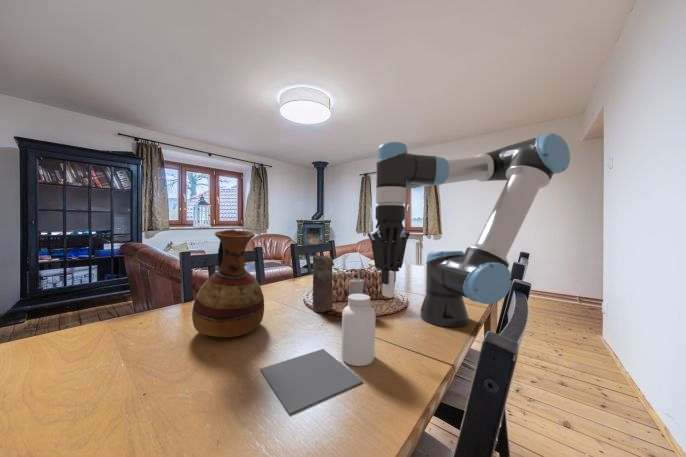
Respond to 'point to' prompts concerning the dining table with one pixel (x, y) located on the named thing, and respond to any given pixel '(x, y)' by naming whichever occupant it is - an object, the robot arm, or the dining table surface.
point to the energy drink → (356, 286)
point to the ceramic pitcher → (229, 292)
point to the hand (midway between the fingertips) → (388, 295)
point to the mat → (308, 379)
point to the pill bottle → (358, 331)
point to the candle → (322, 283)
